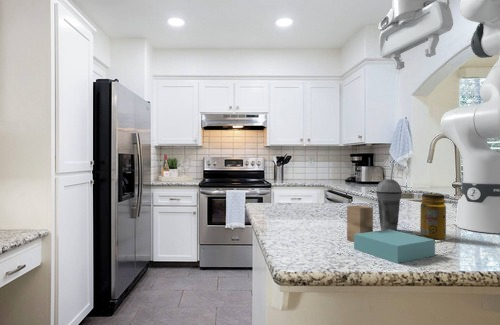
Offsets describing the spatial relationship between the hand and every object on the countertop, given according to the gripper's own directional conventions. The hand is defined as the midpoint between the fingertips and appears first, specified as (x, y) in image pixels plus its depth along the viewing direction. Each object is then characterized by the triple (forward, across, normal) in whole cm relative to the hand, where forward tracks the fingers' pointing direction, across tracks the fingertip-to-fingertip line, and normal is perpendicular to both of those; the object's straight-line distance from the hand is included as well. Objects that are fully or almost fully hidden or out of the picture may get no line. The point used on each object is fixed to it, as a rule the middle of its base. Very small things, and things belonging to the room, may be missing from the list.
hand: (414, 62), depth 83 cm
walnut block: (+46, +8, +16) cm, 49 cm away
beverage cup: (+46, +15, -2) cm, 49 cm away
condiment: (+47, +3, -5) cm, 48 cm away
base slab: (+47, -3, +16) cm, 49 cm away
